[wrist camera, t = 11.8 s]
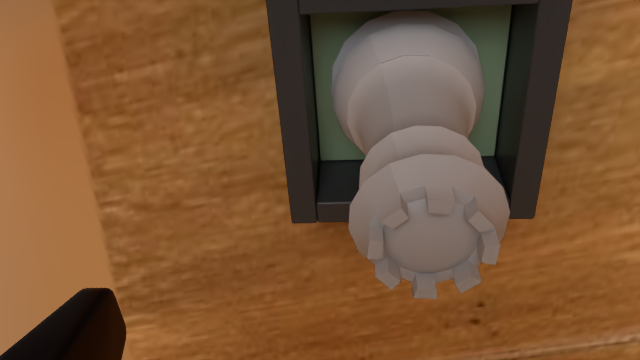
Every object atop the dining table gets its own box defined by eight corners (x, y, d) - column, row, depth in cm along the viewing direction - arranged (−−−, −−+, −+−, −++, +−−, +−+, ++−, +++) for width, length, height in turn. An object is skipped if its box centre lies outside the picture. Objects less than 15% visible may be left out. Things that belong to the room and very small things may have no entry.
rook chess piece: (302, 53, 18) (270, 220, 11) (438, -28, 16) (494, 109, 10) (377, 161, 20) (387, 356, 13) (503, 98, 18) (588, 283, 12)
